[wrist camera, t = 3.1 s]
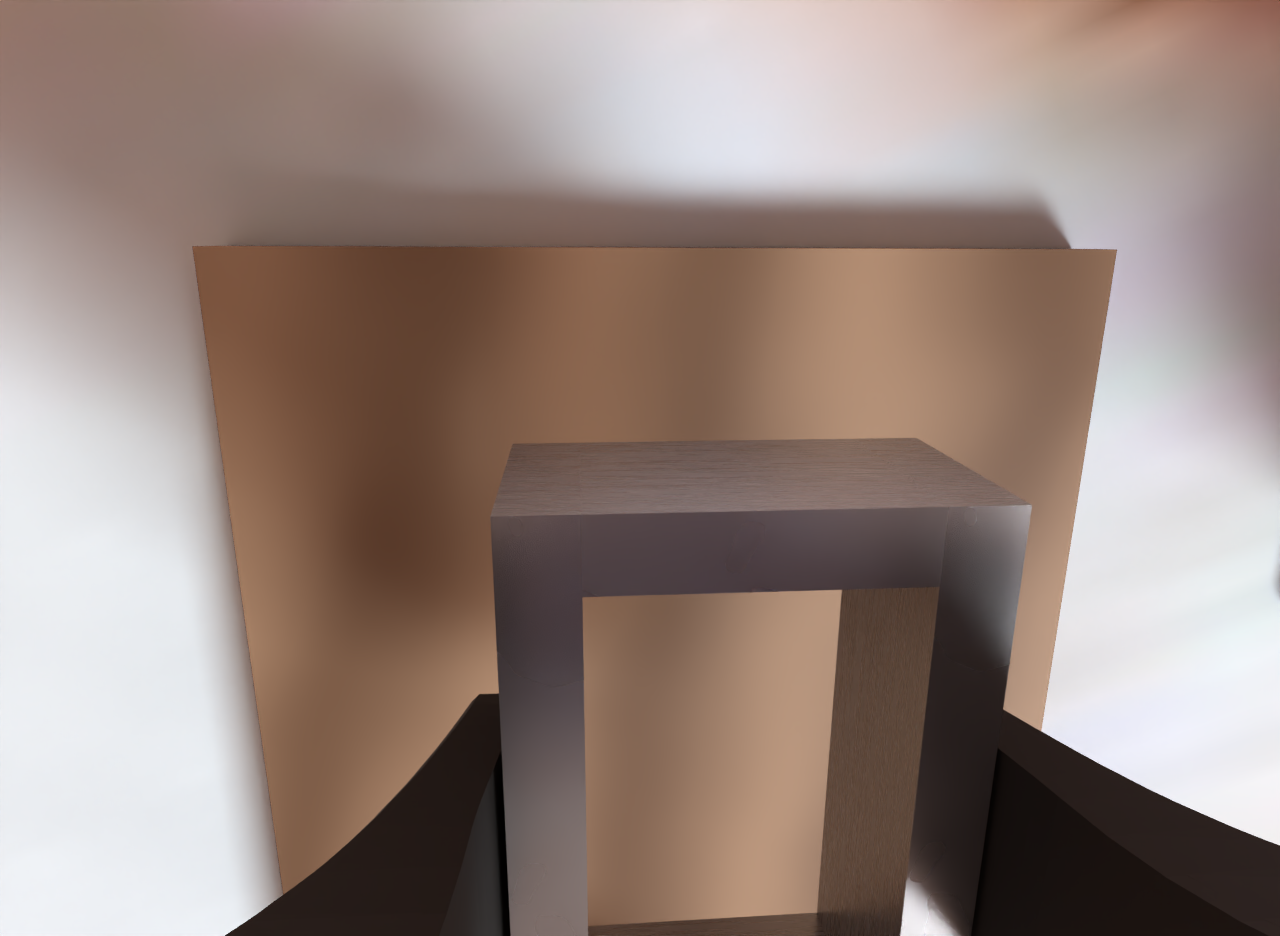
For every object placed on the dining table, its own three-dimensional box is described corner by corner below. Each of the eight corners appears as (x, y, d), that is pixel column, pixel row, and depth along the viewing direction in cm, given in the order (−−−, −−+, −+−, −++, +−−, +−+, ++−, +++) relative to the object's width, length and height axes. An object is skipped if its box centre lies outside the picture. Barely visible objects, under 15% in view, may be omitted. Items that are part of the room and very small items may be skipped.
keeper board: (1073, 248, 18) (1315, 253, 12) (954, 1078, 24) (1073, 1345, 18) (226, 245, 17) (33, 249, 11) (339, 1121, 23) (257, 1422, 17)
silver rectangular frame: (916, 437, 11) (1032, 504, 8) (865, 952, 14) (941, 1140, 11) (512, 443, 11) (490, 517, 8) (533, 973, 13) (522, 1174, 10)
